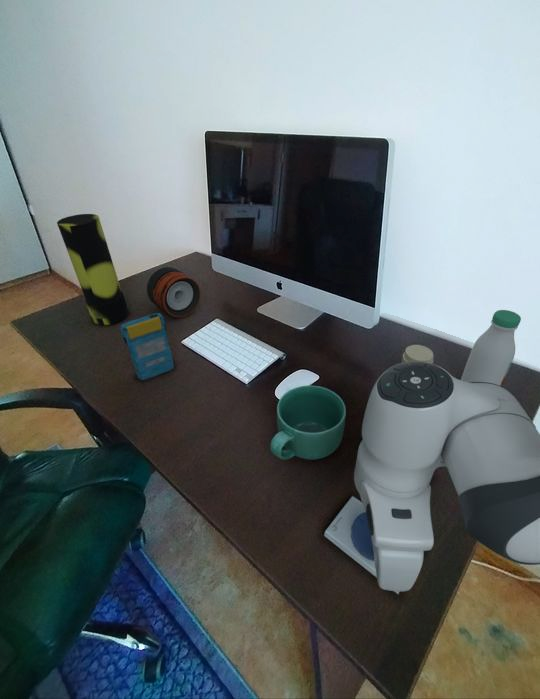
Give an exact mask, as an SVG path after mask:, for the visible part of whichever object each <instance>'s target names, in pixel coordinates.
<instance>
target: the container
mask: <svg viewBox="0 0 540 699" xmlns="http://www.w3.org/2000/svg"><path fill="white" fill-rule="evenodd" d="M56 224H57V227H58V230H59V232H60V236H61V238H62V240H63V243H64V246H65V248H66V252H67V254H68V256H69V259H70V262H71V264H72V267H73V270H74V272H75V275H76V278H77V280H78V283H79V286H80V289H81V291H82V294H83V296H84V300H85V304H86V307H87V310H88V313H89V315H90V317H91V318H92V320H93V322H94V323H95V324H96V325H99V326H111V325H116V324H118V323H121V322H122V321H124V320H125V319H126V318H127V317H128V315H129V311H128V308H127V307H128V304H127V301H126V299H125V298H126V297H125V295H124V293H123V291H122V287H121V285H120V282H119V279H118V275H117V272H116V268H115V265H114V262H113V258H112V256H111V252H110V249H109V246H108V242H107V239H106V235H105V233H104V229H103V226H102V223H101V220H100V216H99V215H97V214H95V213H80V214H74V215H69V216H65V217H62V218H61V219H59V220H57V222H56Z"/></svg>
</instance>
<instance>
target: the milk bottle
mask: <svg viewBox="0 0 540 699" xmlns="http://www.w3.org/2000/svg"><path fill="white" fill-rule="evenodd" d="M521 321H522V317H521V315H519V314H518V313H517V312H514V311H512V310H508V309H507V310H506V309H498V310H496V311H495V312H493V315H492V318H491V320H490V323H491V324H490V326H488V328H487V330H485V331H484V332H483V333H482V334H481V335H480V336H479V337H478V338H477V339H476V341H475V342H474V344H473V346H472V348H471V351H470V353H469V356H468V358H467V361H466V364H465V366H464V369H463V371H462V376H461V377H460V380H462V381H465V382H488V383H493V384H497V385H500V386H502V385H503V383H504V381H505V379H506V377H507V375H508V373H509V370H510V368H511V365H512V363H513V361H514V359H515V355H516V341H515V332H516V331H517V329H518V328H519V326H520V323H521ZM502 387H503V386H502Z"/></svg>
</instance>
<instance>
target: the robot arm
mask: <svg viewBox="0 0 540 699" xmlns="http://www.w3.org/2000/svg"><path fill="white" fill-rule="evenodd" d="M361 437H362V440H361V441H360V443H359V445H358V450H357V454H356V461H355V467H354V472H353V482H354V486H355V489H356V491H357V492H358V494H359V497H360V501H361V502H362V503H363V506H364V508H365V511H366V516H367V520H368V524H369V529H370V534H371V538H372V545H373V552H374V562H375V568H376V574H377V577H376V582H377V585H378V587H379V588H380V589H382V590H384V591H391V592H394V591H400V592H408V591H410V590H411V589H412V588H413V586H414V585H415V583H416V581H417V579H418V576H419V575H420V572H421V569H422V567H423V563H424V554H425V552H426V551H431V550H432V549H433V547H434V544H435V537H434V528H433V521H432V520H433V519H432V512H431V495H432V494H431V493H432V487H431V484H430V483H431V482H432V478H433V476H434V473H435V471H436V470H437V469H438V468H442V467H444V468H447V471H448V474H449V476H450V479H451V481H452V485H453V487H454V489H455V492H456V494H457V501H458V505H459V508H460V511H461V514H462V518H463V522H464V525H465V528H466V531H467V533H468V534H469V535H470V536H471V537H472V538H473V539H474V540H476V541H477V542H478V543H480V544H481V545H482V546H484V547H485V548H487V549H488V550H490V551H492V552H493V553H495V554H496V555H499V556H500V557H502V558H504V559H506V560H508V561H510V562H513V563H515V564H519V565H524V566H525V565H526V566H537V565H540V432H539V430H538V429H537V427H536V425H535V423H534V422H533V420H532V419H531V418H530V416H529V415H528V413H527V412H526V410H525V409H524V407H523V406H522V405H521V403H520V402H519V400H517V398H516V396H514V394H513V393H512V392H511V391H510V390H508V389H507V388H506V387H504V386H500V385H497V384H493V383H488V382H465V381H462V380H461V379H459V378H456V377H454V376H453V375H451V373H449V371H447V370H446V369H444V368H443V367H441V366H439V365H437V364H434V363H433V364H431V363H427V362H419V361H411V362H403V363H401V362H400V363H396V364H394V365H392V366H390V367H389V368H387V369H386V370H385V371H384V372H383V373H381V375H380V376H379V377H378V378H377V380H376V381H375V383H374V385H373V387H372V389H371V392H370V393H369V397H368V400H367V404H366V407H365V410H364V415H363V420H362V424H361Z"/></svg>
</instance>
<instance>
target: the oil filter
mask: <svg viewBox="0 0 540 699" xmlns="http://www.w3.org/2000/svg"><path fill="white" fill-rule="evenodd" d="M146 293H147V296H148V299H149V300H150V301H151V303H152V304H153V305H154V306H156V307H158V308H159V309H161V310H163V311H164V312H166V313H167V314H169V315H170V316H172V317H174V318H183V317H186V316H189V315H190V314H191V313H193V312H194V311H195V310H196V308H197V307H198V305H199V304H200V301H201V288H200V285H199V283H198V282H197V281H196V280H195V279H194V278H192V277H190V276H188V275H187V274H185V273H184V272H183V271H181V270H178V269H177V268H175V267H170V266H165V267H161V268H158V269H157V270H155V271H154V272H153V273H152V274H151V275H150V277H149V279H148V280H147V284H146Z"/></svg>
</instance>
